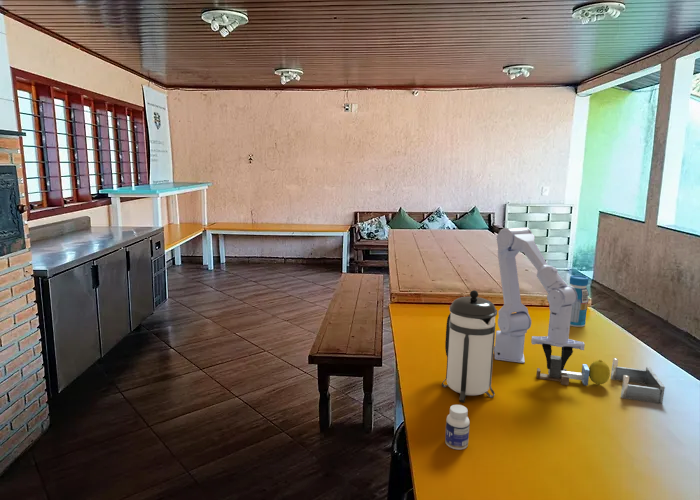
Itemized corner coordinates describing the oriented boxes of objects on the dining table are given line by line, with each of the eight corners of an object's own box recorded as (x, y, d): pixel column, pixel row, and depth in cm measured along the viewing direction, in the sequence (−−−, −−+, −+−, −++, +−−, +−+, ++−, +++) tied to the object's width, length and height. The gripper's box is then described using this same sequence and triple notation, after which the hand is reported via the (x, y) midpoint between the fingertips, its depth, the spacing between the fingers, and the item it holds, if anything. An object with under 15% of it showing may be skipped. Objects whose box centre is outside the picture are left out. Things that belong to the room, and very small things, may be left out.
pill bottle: (442, 437, 113) (444, 403, 111) (463, 436, 113) (466, 402, 112) (448, 450, 108) (450, 415, 106) (471, 450, 108) (473, 414, 107)
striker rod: (549, 380, 143) (551, 359, 142) (547, 374, 147) (549, 354, 146) (587, 385, 140) (590, 364, 139) (585, 379, 144) (587, 358, 143)
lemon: (610, 390, 138) (614, 364, 137) (590, 388, 139) (593, 362, 138) (604, 382, 144) (607, 357, 142) (585, 380, 145) (587, 355, 143)
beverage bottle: (564, 326, 193) (569, 278, 189) (561, 319, 201) (566, 273, 197) (587, 328, 190) (592, 280, 187) (583, 321, 198) (588, 275, 195)
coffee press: (500, 386, 139) (509, 287, 134) (486, 410, 126) (495, 301, 120) (444, 372, 148) (449, 279, 143) (425, 393, 134) (430, 291, 129)
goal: (621, 398, 134) (624, 376, 132) (610, 377, 147) (612, 357, 145) (662, 404, 131) (666, 382, 130) (647, 382, 144) (650, 362, 143)
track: (537, 381, 143) (538, 373, 143) (535, 372, 149) (536, 365, 149) (570, 385, 141) (570, 377, 140) (566, 376, 147) (567, 369, 146)
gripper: (534, 327, 140) (530, 370, 142) (588, 333, 136) (583, 377, 138) (532, 320, 147) (528, 361, 149) (584, 325, 142) (579, 367, 145)
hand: (554, 368), depth 144 cm, fingers closed on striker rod, 3 cm apart
